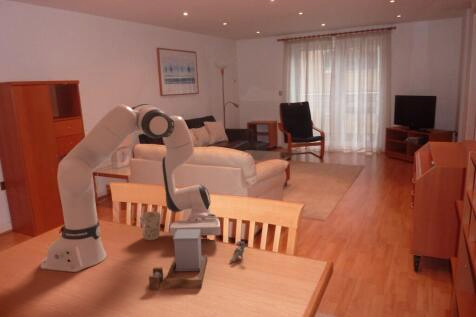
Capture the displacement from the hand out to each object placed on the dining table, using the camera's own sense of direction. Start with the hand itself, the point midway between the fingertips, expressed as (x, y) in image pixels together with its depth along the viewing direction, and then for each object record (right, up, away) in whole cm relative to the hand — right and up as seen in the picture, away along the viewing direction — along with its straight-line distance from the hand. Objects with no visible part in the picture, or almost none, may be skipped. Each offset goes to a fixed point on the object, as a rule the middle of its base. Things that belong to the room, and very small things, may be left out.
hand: (192, 236), depth 135 cm
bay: (-2, -10, -13) cm, 17 cm away
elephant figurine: (+18, -7, -4) cm, 20 cm away
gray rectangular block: (0, -9, -9) cm, 12 cm away
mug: (-19, -4, +14) cm, 24 cm away
